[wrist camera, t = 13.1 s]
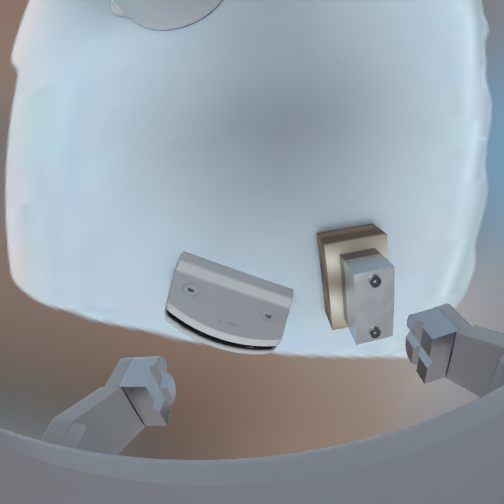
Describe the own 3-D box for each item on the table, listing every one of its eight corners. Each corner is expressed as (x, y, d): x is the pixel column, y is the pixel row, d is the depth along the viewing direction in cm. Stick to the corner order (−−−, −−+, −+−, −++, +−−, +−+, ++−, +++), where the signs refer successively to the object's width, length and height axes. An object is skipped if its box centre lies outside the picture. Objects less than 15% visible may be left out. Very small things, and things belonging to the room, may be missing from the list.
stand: (316, 233, 40) (324, 245, 35) (372, 223, 40) (386, 234, 35) (325, 311, 44) (332, 330, 39) (376, 300, 43) (387, 317, 39)
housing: (339, 254, 36) (354, 276, 30) (374, 248, 36) (395, 267, 29) (344, 318, 39) (357, 346, 33) (376, 311, 38) (393, 337, 32)
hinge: (295, 290, 43) (292, 349, 35) (282, 310, 46) (277, 367, 38) (180, 250, 41) (155, 304, 33) (175, 274, 44) (152, 326, 36)
